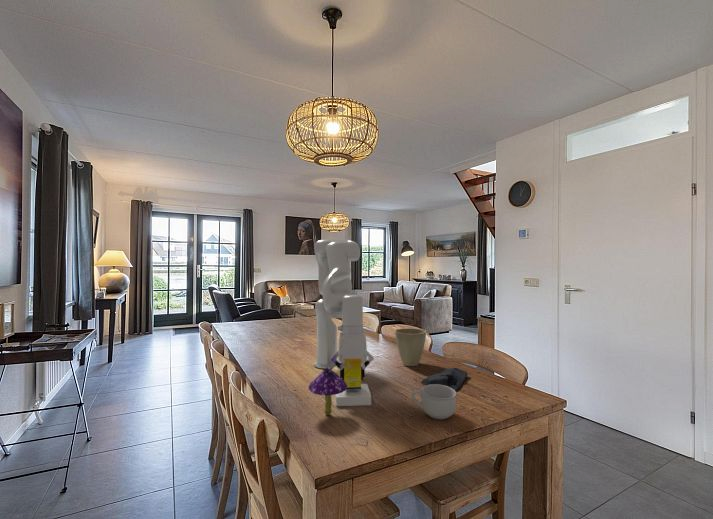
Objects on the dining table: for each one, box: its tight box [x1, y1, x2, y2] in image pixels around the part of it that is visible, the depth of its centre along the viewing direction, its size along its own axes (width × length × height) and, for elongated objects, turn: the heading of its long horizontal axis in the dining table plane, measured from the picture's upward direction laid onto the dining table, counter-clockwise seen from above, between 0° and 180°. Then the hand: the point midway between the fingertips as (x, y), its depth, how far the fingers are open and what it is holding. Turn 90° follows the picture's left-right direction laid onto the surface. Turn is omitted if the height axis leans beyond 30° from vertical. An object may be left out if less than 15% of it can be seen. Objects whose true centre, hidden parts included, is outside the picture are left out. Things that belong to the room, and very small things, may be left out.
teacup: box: [410, 384, 457, 420], centre depth 108 cm, size 14×11×8 cm
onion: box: [331, 366, 340, 376], centre depth 139 cm, size 8×8×7 cm
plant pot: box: [394, 327, 427, 367], centre depth 163 cm, size 15×15×16 cm
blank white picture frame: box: [334, 383, 372, 407], centre depth 121 cm, size 12×12×3 cm
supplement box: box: [344, 358, 362, 390], centre depth 121 cm, size 6×6×11 cm
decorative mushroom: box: [308, 367, 347, 416], centre depth 109 cm, size 12×12×15 cm
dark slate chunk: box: [420, 367, 468, 392], centre depth 140 cm, size 15×22×5 cm
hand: (352, 379), depth 121 cm, fingers closed on supplement box, 6 cm apart
